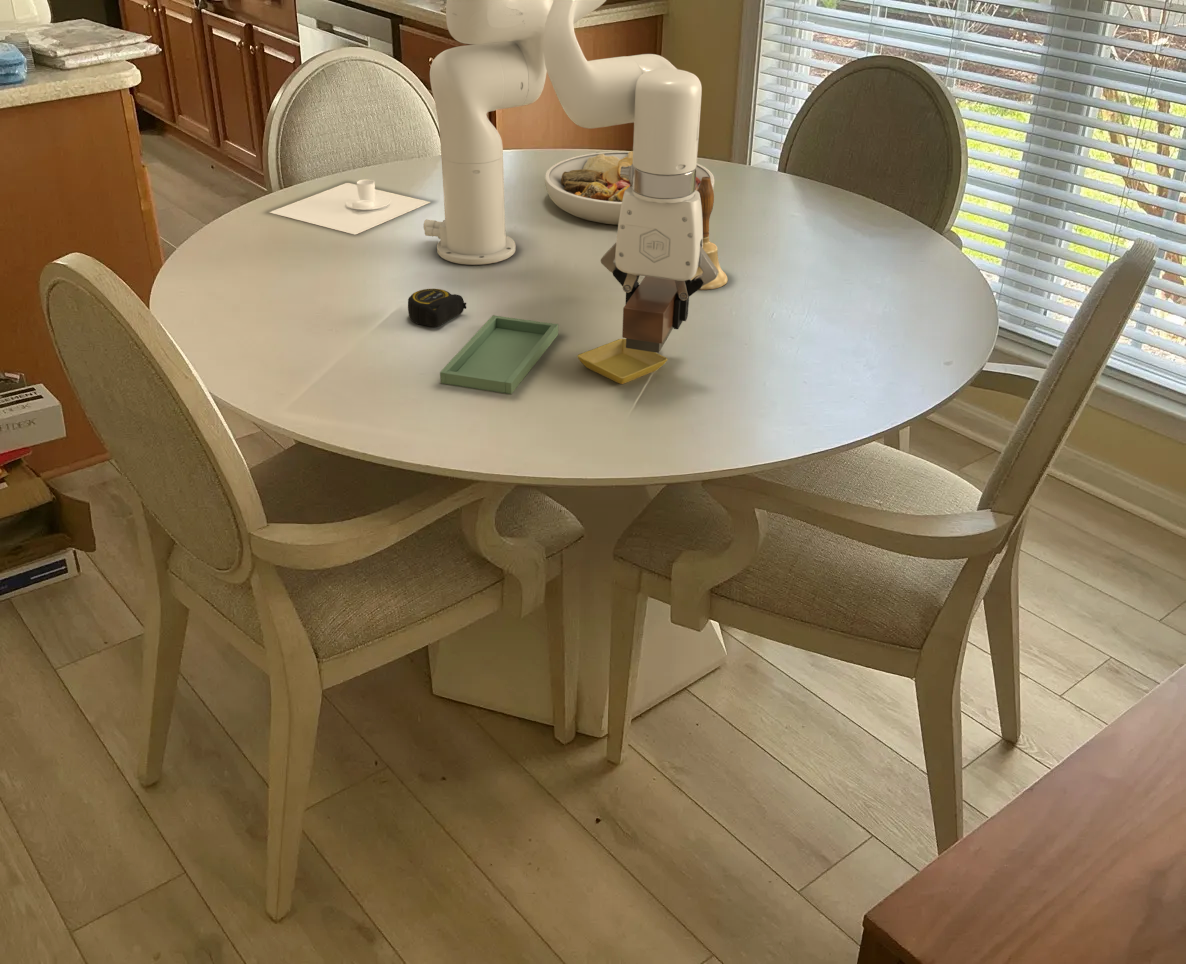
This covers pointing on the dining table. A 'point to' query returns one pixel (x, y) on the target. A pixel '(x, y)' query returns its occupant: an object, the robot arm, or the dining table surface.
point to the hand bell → (709, 248)
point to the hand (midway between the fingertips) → (656, 320)
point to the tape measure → (434, 306)
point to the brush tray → (500, 354)
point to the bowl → (596, 185)
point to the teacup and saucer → (350, 207)
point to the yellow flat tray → (621, 361)
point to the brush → (649, 314)
